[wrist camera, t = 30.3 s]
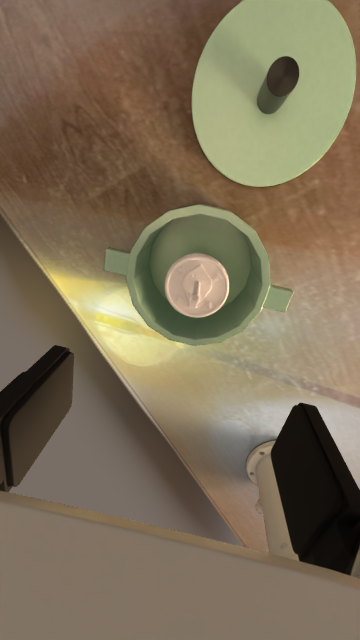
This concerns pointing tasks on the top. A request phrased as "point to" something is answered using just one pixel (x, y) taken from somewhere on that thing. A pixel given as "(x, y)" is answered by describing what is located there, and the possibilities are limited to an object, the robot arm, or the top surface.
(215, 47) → the lid
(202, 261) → the smoothie
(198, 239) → the pot
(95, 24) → the top surface
